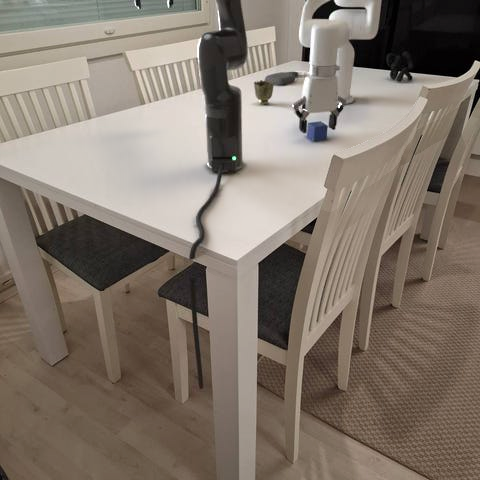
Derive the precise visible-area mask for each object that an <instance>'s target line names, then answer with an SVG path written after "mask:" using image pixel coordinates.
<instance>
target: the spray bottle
mask: <svg viewBox="0 0 480 480" xmlns="http://www.w3.org/2000/svg"><path fill="white" fill-rule="evenodd" d="M298 76H309V71H305V70H295V71H285V72H284V71H282V72H275V73H272V74H268V75H266V76H265V78H264V81H265V80H266V83H267V82H268V83H269V81H271V82H272V81H273V83H274V86H284V85H288V84H291V83H293V82H294V81H296V77H298Z"/></svg>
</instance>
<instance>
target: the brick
mask: <svg viewBox="0 0 480 480" xmlns="http://www.w3.org/2000/svg"><path fill="white" fill-rule="evenodd" d="M328 128H329V125H327V124H326V123H324V122H323V121H321V120H319V121H311V122H307V131H306V138H308V139H310V140H311V141H312V142H321V141H326V140H327V138H328Z"/></svg>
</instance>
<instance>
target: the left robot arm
mask: <svg viewBox="0 0 480 480" xmlns="http://www.w3.org/2000/svg"><path fill="white" fill-rule="evenodd" d="M166 2H167V8H172V6H174V0H166ZM213 2H214V4H215V7H216V12H217V18H218V26H219V28H218V29H217V30H211V31H206V32H205V33H203V34H202V35H201V36H200V37H199V39H198V42H197V49H196V51H197V52H196V53H197V54H196V55H197V66H198V74H199V83H200V89H201V92H202V94H203V99H204V100H203V101H204V116H205V117H204V118H205V133H206V134H205V135H206V153H207V168H208V169H209V170H211V172H212V173H217V177H216V182H215V185H214V188H213V190H212V192H211V194H210V195H209V197H208V199H206V202H205V203H204V204H203V205H202V206H201V207H200V208H199V210H198V212H197V214H196V217H195V221H196V225H197V228H198V230H199V236H198V238H197V239H196V240H195V241H194V242H193V244H192V246H191V247H190V251H189V258H188V259H189V260H190V261H191V260H194V259H195V257H196V252H197V249H198V247H199V246H200V245H201V244H202V243H203V241H204V240H205V237H206V233H205V228H204V226H203V223H202V216H203V213H204V212H205V211H206V210H207V208H208V207H209V206H210V205H211V203H212V202H213V200H214V199H215V197H216V195H217V193H218V191H219V189H220V185H221V181H222V176H223V173H237V171H239V170H240V169H242V168H243V166H244V160H243V114H242V113H243V109H242V108H243V106H242V105H243V104H242V103H243V102H242V101H243V100H242V99H243V98H242V96H243V95H242V90H241V88H240V87H239V86H236V85H231V84H230V83H229V79H228V73H229V72H232V71H236V70H239V69H242V68H243V67H244V66H245V64H246V62H247V59H248V54H249V48H248V47H249V46H248V37H247V31H246V25H245V18H244V12H243V5H242V0H213ZM134 6H135V7H136V8H137V9H138V10H142V2H141V0H134ZM189 286H190V287H189V288H190V289H189V290H190V305H191V306H190V308H191V319H192V320H191V321H192V331H193V340H194V341H193V343H194V351H195V360H196V371H197V380H198V389H199V390H203V389H204V377H203V368H202V367H203V366H202V357H201V356H202V355H201V347H200V337H199V336H200V335H199V325H198V323H199V322H198V311H197V310H198V309H197V292H196V291H197V290H196V278H190V279H189Z"/></svg>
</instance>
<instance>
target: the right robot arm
mask: <svg viewBox="0 0 480 480" xmlns="http://www.w3.org/2000/svg"><path fill="white" fill-rule="evenodd" d="M330 1H331V0H306V1H305V2H304V4H303V8H302V11H301V17H300V23H299V29H298V41H299V43H300V45H301V46H303V47H304V48H310V50H309V61H308V62H309V64H308V72H309V75H305V78H304V81H303V86H302V92H301V98H300V99H298V100H297V101H295V102H294V103H292V104H291V108H292V110H293V113H294V114H295V115H296V116H297V117H298V118H299V119H298V120H299V122H298V129H299V132H301V133H302V134H307V130H308V120H307V118H308V116H309V115H310V114H316V113H326V112H330V114H329V116H328V117H329V118H328V128H329V129H331V130H333V131H335V130H336V126H337V123H338V117H339V116H340V114H341V113H342V111H344V107H345V106H346V105H347V104H351V103H353V102H354V99H355V98H354V96H353V95H351V88H352V82H353V81H352V80H353V70H354V62H355V48H354V47H353V45H352V43H351V42H350V40H372V39H374V38H375V37H376V36H377V34H378V31H379V26H380V18H381V17H380V16H381V9H382V8H381V7H382V0H333V2H334V3H335V5H337V6H339V7H343V8H344V9H343V8H341V9H337V10H334V11H333V12H331V13H330V15H329V17H328V18H313V16H314V13H315V12H316V11H317V9H319V8H320V7H321V6H323V5H324V4H326V3H328V2H330ZM349 8H351V9H349ZM353 8H364V9H353ZM300 108H301V111H300Z"/></svg>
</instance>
